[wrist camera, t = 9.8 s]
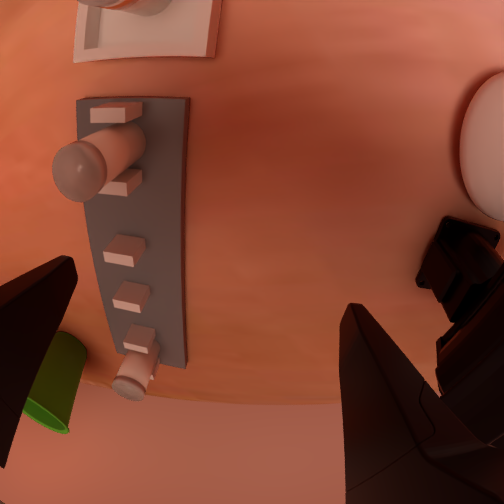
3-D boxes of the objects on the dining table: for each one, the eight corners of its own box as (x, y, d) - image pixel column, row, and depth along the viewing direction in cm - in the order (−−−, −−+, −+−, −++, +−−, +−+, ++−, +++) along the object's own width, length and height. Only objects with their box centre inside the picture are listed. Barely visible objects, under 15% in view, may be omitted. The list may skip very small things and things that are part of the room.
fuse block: (190, 97, 17) (172, 104, 15) (187, 361, 32) (180, 387, 29) (84, 98, 18) (55, 106, 15) (120, 346, 32) (109, 369, 29)
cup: (113, 360, 34) (81, 435, 25) (80, 371, 37) (51, 433, 28) (59, 310, 30) (13, 384, 21) (34, 329, 34) (-4, 391, 24)
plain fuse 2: (159, 337, 29) (140, 388, 24) (162, 356, 30) (145, 404, 25) (130, 331, 29) (108, 378, 24) (134, 350, 30) (115, 395, 25)
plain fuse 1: (147, 120, 18) (97, 145, 13) (146, 165, 19) (102, 204, 14) (105, 119, 18) (49, 144, 13) (106, 162, 19) (56, 199, 14)
